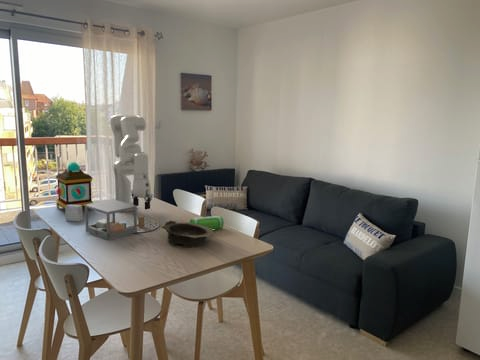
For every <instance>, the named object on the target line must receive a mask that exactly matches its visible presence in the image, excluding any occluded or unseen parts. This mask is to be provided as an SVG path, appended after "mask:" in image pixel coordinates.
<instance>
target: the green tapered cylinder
mask: <svg viewBox="0 0 480 360" xmlns="http://www.w3.org/2000/svg"><path fill="white" fill-rule="evenodd" d="M189 223H195V224H199V225H203V226H206V227H208V228H211V229H216V230H221V229H222V228H223V227H224V219H223V217H222V216H220V215H213V216H211V215H210V216H201V217H193V218H191V219H189Z"/></svg>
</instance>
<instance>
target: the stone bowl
mask: <svg viewBox="0 0 480 360" xmlns="http://www.w3.org/2000/svg"><path fill="white" fill-rule="evenodd" d="M161 228H162V229H164V230H165V231H166V233H168V234H167V242H168V244H170V245H177V244H182V245H183V247H184V248H193V247H197V246H199V245H202V244H204V241H205V240H206V238H207V237H209V236H212V235H213V233H214V230H212V229H211V228H208V227H206V226H203V225H199V224H195V223H190V221H189V222H176V221H175V220H174V221H173V220H169V221H167V222H166V223H165V224H164V226H163V225H162V226H161Z"/></svg>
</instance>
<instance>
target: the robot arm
mask: <svg viewBox="0 0 480 360" xmlns="http://www.w3.org/2000/svg"><path fill="white" fill-rule="evenodd" d="M109 123H110V128H111V131H112V133H113V134H112V135H113V138H114V154H115V157H116V158H118V159H119V160H117V161H115V162H114V163H113V164H112V165H113V166H112V168H113V175H114V187H115V188H114V189H115V191H114V192H115V193H114V194H115V199H114V200H117V201H121V202H124V203H128V204H131V205H135V206H137V207H139V205H140V203H139V200H140V199H139V198H142V199H143V200H144V210H150V209H151V202H152V199H153V196H154V195H153V193H152V190H151V183H150V179H149V155H148V154H147V153H146V152H143V151H142V147H141V145H140V144H139V143H138V142H139V140H140V135H139V132H144V131H145V130H146V129H147V123H146V120H145V118H144V117H143V116H141V115H135V114H134V115H129V114H114V115H112V116H111V117H110V120H109ZM128 176H133V180H132V181H133V184H132V182H131V180H130V179H129V178H128ZM131 211H134V209H131V210H126V211H122V212H123V213H126V212H131ZM122 212H121V213H122Z"/></svg>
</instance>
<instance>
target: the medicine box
mask: <svg viewBox="0 0 480 360" xmlns="http://www.w3.org/2000/svg"><path fill="white" fill-rule="evenodd" d="M64 213H65V221H66V222H78V223H79V222H81V221H82V220H83V207H82V205H67V206H65V209H64Z"/></svg>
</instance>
